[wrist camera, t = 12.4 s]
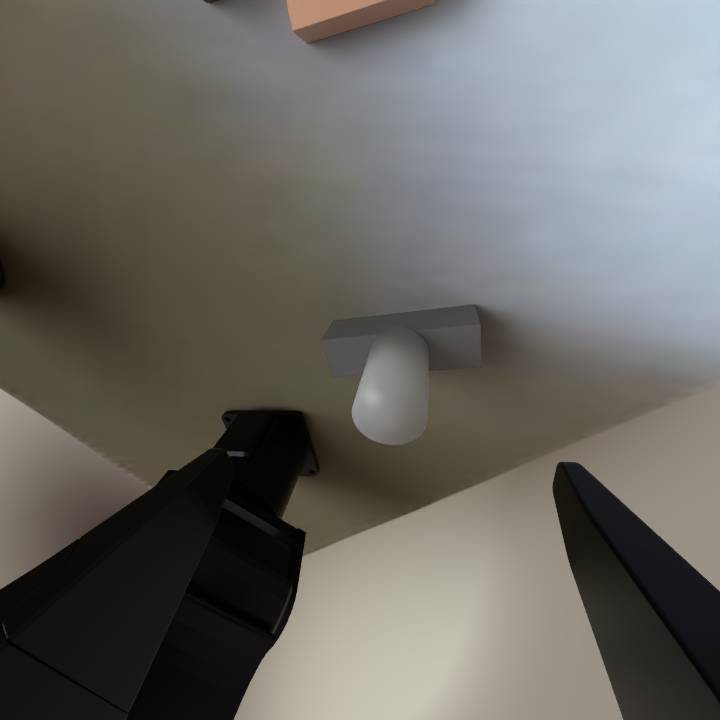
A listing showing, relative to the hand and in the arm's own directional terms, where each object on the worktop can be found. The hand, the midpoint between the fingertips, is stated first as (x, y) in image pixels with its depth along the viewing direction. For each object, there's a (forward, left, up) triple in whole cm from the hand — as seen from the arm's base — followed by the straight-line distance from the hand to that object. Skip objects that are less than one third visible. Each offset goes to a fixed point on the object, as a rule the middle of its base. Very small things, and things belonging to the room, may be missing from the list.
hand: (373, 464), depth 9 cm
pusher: (-2, 0, -11) cm, 11 cm away
